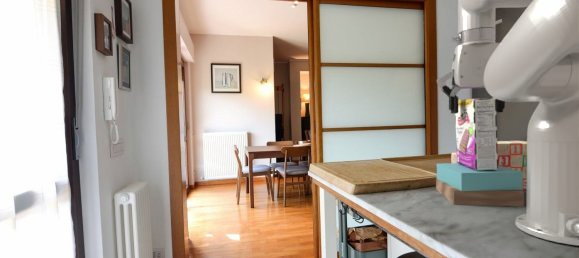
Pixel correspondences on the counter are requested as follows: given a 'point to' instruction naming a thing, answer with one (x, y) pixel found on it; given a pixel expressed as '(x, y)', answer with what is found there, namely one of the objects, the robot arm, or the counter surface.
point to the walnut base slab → (480, 196)
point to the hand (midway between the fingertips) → (476, 112)
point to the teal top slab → (479, 178)
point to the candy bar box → (477, 134)
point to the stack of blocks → (510, 157)
